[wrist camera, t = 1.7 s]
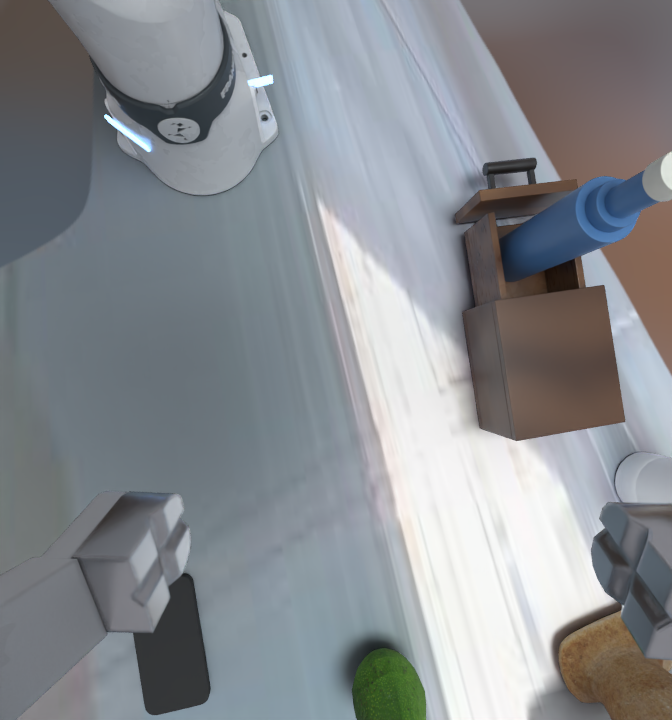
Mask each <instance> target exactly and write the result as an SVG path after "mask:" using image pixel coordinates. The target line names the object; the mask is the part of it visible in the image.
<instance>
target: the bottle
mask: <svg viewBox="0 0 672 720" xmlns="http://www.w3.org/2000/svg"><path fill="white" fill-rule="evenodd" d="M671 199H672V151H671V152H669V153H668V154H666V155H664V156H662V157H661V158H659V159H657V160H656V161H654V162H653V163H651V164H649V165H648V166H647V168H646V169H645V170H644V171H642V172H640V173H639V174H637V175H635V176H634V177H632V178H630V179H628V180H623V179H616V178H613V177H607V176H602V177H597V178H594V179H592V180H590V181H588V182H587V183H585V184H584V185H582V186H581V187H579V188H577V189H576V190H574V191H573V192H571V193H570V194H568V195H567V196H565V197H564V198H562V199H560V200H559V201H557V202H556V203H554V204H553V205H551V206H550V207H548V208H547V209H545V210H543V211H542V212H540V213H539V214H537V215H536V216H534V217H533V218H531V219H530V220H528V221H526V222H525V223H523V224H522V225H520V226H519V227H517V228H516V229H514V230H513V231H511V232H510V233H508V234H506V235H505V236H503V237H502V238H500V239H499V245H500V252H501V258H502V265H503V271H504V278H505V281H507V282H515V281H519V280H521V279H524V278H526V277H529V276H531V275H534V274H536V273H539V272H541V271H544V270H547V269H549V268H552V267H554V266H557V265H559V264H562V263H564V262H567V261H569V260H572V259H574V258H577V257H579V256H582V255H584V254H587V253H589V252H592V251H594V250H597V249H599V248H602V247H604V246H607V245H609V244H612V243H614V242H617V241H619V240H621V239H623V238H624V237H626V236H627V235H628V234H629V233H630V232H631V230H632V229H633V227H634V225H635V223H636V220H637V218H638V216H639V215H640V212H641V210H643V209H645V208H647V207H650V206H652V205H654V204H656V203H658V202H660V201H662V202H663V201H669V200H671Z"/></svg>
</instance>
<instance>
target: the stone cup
mask: <svg viewBox="0 0 672 720" xmlns="http://www.w3.org/2000/svg"><path fill="white" fill-rule="evenodd" d="M558 654H559V666H560V670H561V674H562V676H563V679H564V681H565V684H566V686H567V688H568V689H569V691H570V692H571V693H572V694H573V695H574V696H575V697H576V698H577V699H578V700H580V701H581V702H585V703H594V702H601V703H602V704H603V705H604V706H605V708H606V709H607V711H608V713H609V715H610V717H611V719H612V720H672V674H670V673H669V672H668V671H670V669H671V668H672V660H660V659H647V658H645V657H644V655H643V653H642V652H641V650H640V648H639V647H638V645H637V644H636V642H635V640H634V639H633V637H632V635H631V634H630V632H629V630H628V629H627V627H626V626H625V624H624V622H623V621H622V619H621V611H618V612H616V613H613V614H611V615H608V616H606V617H604V618H602V619H599V620H597V621H595V622H593V623H591V624H589V625H587V626H585V627H583V628H581V629H579V630H577V631H575V632H573V633H571V634H570V635H568V636H567V637H566V638H565V639H563V641H562V642H561V644H560V646H559V652H558Z"/></svg>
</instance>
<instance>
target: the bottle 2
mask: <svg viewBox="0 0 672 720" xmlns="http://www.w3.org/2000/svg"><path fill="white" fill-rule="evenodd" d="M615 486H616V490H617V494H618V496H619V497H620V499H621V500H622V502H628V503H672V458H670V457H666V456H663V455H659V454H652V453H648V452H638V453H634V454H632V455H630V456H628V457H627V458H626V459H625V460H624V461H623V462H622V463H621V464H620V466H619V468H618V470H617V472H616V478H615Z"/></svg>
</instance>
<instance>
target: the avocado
mask: <svg viewBox="0 0 672 720" xmlns="http://www.w3.org/2000/svg"><path fill="white" fill-rule="evenodd" d="M352 695H353V704H354V709H355V715H356V718H357V720H426V699H425V691H424V688H423V686H422V683H421V681H420V679H419V676H418V674H417V673H416V671H415V669H414V667H413V666H412V665H411V664H410V662H409V661H408V660H407V659H406V658H405V657H404V656H403V655H402V654H400V653H398V652H396V651H394V650H392V649H387V648H381V649H377V650H374V651H372V652H371V653H369V654H368V655H367V656H366V657H365V658H364V659H363V661H362V662H361V664H360V665H359V667H358V669H357V672H356V675H355V678H354V683H353V687H352Z"/></svg>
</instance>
